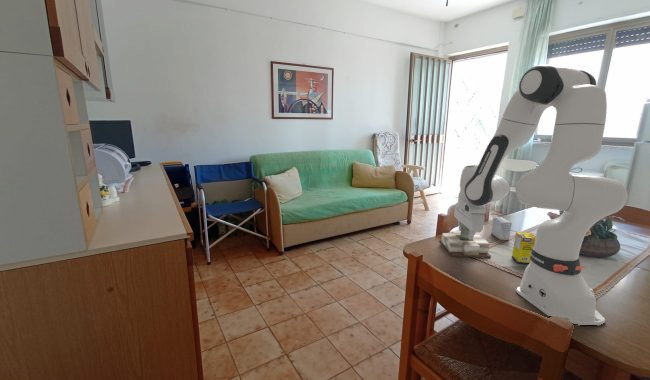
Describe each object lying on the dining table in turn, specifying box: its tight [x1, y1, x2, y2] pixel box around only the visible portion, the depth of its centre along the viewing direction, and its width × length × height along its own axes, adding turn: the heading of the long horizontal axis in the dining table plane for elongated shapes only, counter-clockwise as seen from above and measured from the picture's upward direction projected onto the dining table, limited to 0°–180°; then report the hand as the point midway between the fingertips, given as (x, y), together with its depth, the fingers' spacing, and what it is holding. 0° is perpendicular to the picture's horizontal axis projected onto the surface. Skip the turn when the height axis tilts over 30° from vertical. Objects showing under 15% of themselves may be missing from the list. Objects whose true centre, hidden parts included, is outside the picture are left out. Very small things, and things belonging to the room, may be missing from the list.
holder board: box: [439, 230, 492, 259], centre depth 127 cm, size 16×16×5 cm
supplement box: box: [511, 231, 536, 265], centre depth 116 cm, size 6×6×11 cm
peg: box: [460, 224, 470, 241], centre depth 126 cm, size 4×4×10 cm
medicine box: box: [491, 216, 513, 241], centre depth 140 cm, size 8×4×9 cm, turn 179°
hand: (465, 234), depth 126 cm, fingers open, 8 cm apart
